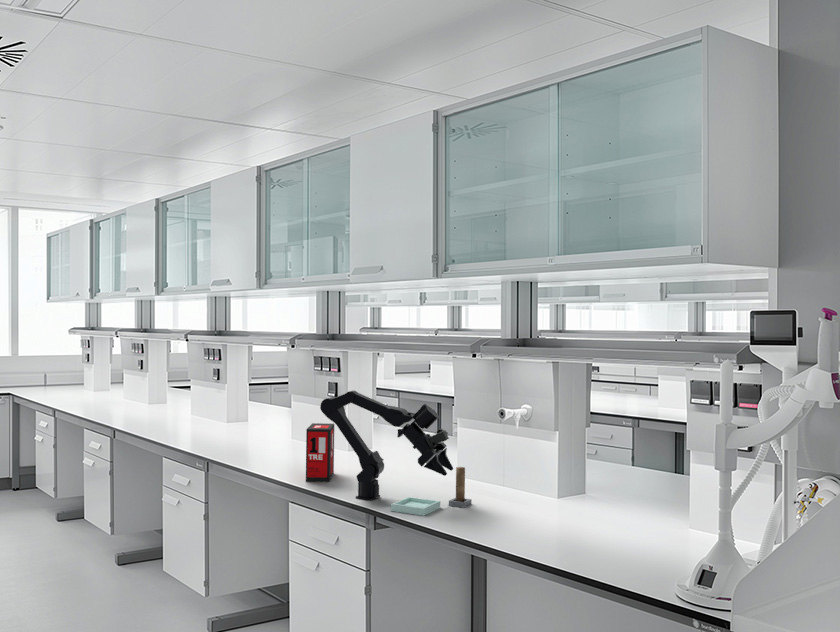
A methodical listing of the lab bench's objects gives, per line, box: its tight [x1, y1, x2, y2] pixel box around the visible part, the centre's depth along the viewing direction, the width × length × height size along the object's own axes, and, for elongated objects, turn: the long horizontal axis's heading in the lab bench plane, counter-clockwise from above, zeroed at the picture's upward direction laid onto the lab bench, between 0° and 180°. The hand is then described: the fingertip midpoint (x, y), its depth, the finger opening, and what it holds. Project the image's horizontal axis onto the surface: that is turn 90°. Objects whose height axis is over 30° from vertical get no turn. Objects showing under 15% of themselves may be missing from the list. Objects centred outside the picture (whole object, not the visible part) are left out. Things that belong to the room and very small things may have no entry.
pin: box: [455, 466, 466, 502], centre depth 260 cm, size 3×3×12 cm
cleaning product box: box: [305, 422, 335, 483], centre depth 302 cm, size 16×9×20 cm, turn 0°
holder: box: [448, 497, 472, 509], centre depth 260 cm, size 6×6×2 cm
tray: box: [390, 496, 441, 517], centre depth 253 cm, size 12×12×2 cm
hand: (449, 472), depth 261 cm, fingers open, 9 cm apart
